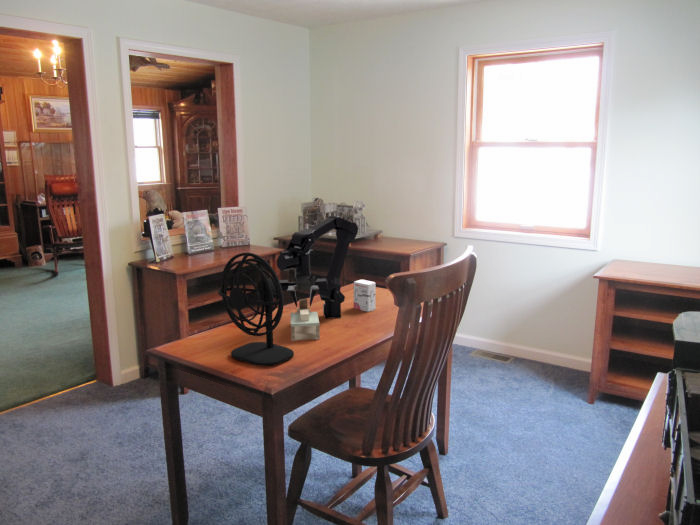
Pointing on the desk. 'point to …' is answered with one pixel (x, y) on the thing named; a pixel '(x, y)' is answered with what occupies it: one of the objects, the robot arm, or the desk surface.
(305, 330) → the beige piece
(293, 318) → the lid
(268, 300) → the desk fan
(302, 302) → the brown l-shaped block
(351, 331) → the desk surface
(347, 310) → the desk surface
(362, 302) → the ink box
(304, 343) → the desk surface
